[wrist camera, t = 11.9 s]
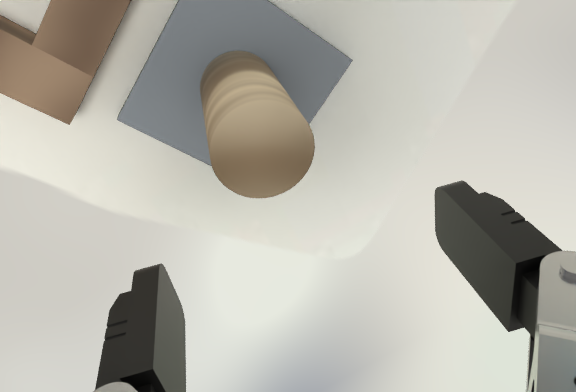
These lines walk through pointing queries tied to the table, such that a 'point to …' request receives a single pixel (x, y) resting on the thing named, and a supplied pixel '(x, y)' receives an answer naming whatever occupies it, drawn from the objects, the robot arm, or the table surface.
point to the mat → (210, 44)
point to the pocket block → (58, 54)
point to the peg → (253, 127)
